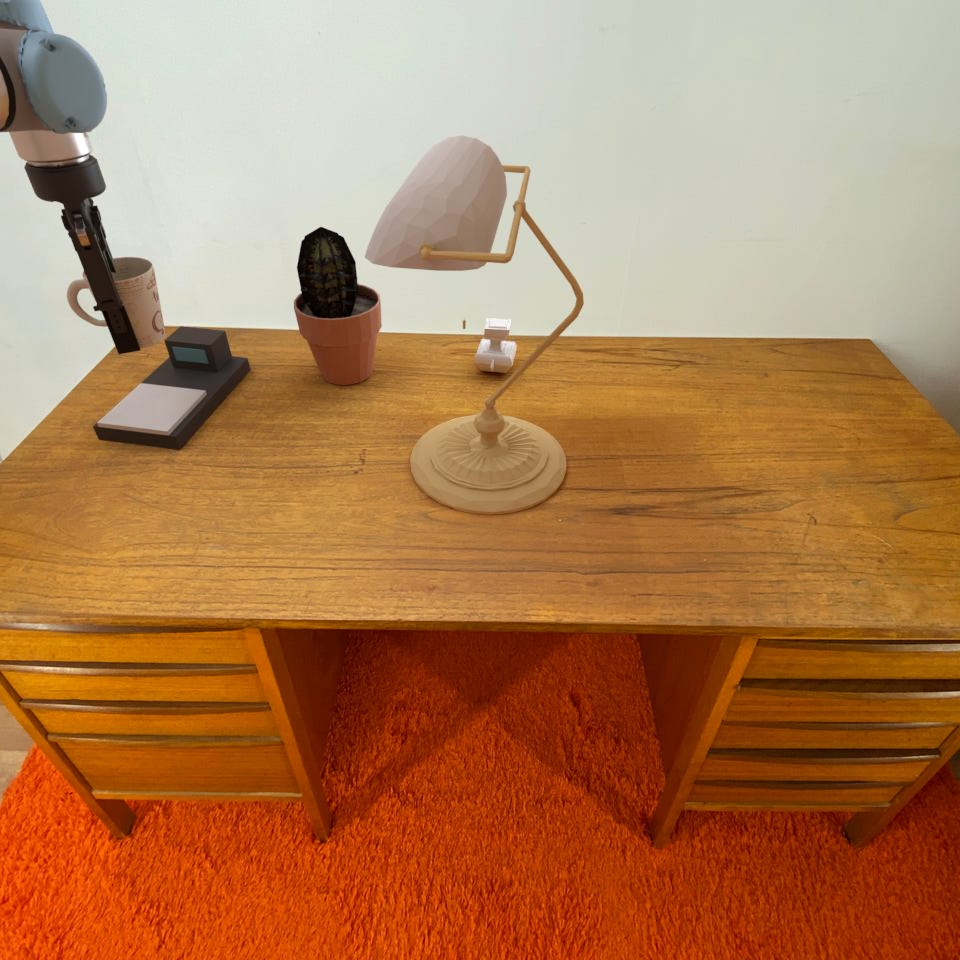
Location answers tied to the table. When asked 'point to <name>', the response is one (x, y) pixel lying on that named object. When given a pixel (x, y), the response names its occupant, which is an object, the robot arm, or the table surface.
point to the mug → (130, 299)
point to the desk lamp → (457, 247)
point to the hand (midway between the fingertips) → (128, 339)
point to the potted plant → (336, 309)
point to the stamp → (496, 347)
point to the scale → (177, 392)
